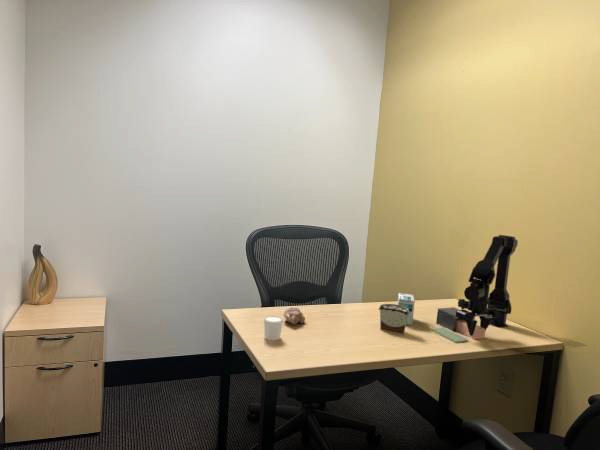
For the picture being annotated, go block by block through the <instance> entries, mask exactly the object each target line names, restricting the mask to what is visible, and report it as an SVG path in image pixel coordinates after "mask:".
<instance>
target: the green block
mask: <svg viewBox="0 0 600 450" xmlns="http://www.w3.org/2000/svg"><path fill="white" fill-rule="evenodd" d="M431 331H432V332H434V333H436V334H437V335H439V336H441V337H443V338H445V339H447V340H449V341H451V342H453V343H455V344H456V343H464V342H465V343H466V342H469V339H467V337H466V338H465V337H463V336H462V335H459V334H457V333H455V332H454V331H451V330H449V329H447V328H445V327H438V328H431Z"/></svg>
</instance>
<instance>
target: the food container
mask: <svg viewBox="0 0 600 450" xmlns="http://www.w3.org/2000/svg"><path fill="white" fill-rule="evenodd" d="M378 311H379V315H380V317H379V319H380V320H379V321H380V322H379V323H380V324H379V325H380V328H379V329H380V330H381V331H385V332H389V333H394V334H397V335H403V336H404V335H405V330H406V326H407V325H406V322H407V317H408V314H409V309H408V308H406V307H404V306H401V305H398V304H396V303H395V304H394V303H383V304H380V305H379V307H378ZM409 316H410V314H409Z"/></svg>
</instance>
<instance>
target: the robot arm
mask: <svg viewBox="0 0 600 450" xmlns="http://www.w3.org/2000/svg"><path fill="white" fill-rule="evenodd" d="M518 242H519V241H518V239H516V236H512V235H505V234H499V235H497V236H493V237H492V240H491V244H490V246H489V248H488V249H487V251H486V253H485V255H484V257H483V259H481V260H480V261H478V262H477V263H476V264H475V266H474V267H472V271H471V273H470V275H469V278H468V283H470V285H469V286H467V287H466V288H465V289H464V292H463V293H464V297H465V299H466V300H467V301H466V300H465V299H464V298H461V299H458V301H457V306H458V308H460V309H459V310H458V311H456V317H458V318H460V319H462V320H465V321H466V323H467V326H468V330H469V334H470V335H471V336H472V335H473V333H474V330H475V327H476V325H478V320H477V319H476V318H477V317H478V318H479V321H480V325H479V326H480V327H482V328H485V331H487V329H488V328H489V326H490V325H491V326H495V327H497V328H502V327H509V324H507V316H508V315H511V314H512V310H513V309H512V308H513V307H512V304H511V301H510V294H509V292H508V289H507V285H508V277H509V270H510V264H511V263H510V262H511V256H512V255H513V254H514V253H515V252H516V248H517V247H518V244H519V243H518ZM496 264H497V265H496ZM495 266H497V267H496V270H495ZM494 279H495V281H494ZM493 282H494V288H493V290H492V291H491V292H490V288H491V287H490V286H491V285H492V284H493Z"/></svg>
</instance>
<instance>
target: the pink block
mask: <svg viewBox="0 0 600 450" xmlns="http://www.w3.org/2000/svg"><path fill="white" fill-rule="evenodd" d="M455 331H458V332H459V333H462V334H463V335H464V336H466V337H468V338H470V339H472V340H480V339H482V340H483V339H485V333H486V330H485V328H482V327H480V325H479V324H476V327H475V330H474V333H473V335H472V336H471V335H470V334H469V330H468V326H467V323H466V321H465V320H462V319H456V326H455Z"/></svg>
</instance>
